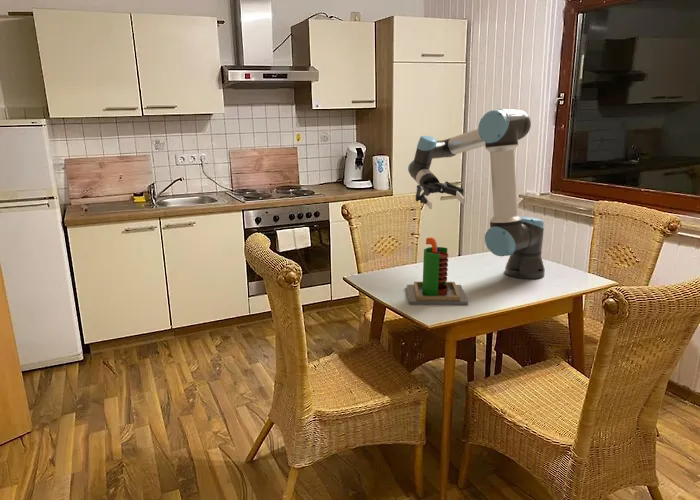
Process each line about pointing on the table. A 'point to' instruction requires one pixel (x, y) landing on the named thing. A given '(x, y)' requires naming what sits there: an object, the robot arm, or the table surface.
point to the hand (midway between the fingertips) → (447, 203)
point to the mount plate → (452, 298)
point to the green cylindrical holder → (435, 269)
